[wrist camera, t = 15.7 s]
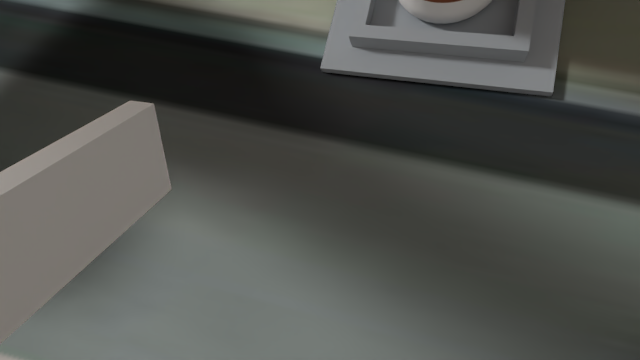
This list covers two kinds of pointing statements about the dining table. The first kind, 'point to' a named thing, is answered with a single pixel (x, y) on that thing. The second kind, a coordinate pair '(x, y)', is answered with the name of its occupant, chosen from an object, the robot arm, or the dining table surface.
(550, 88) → the grey square tray
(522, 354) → the dining table surface
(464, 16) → the milk bottle
